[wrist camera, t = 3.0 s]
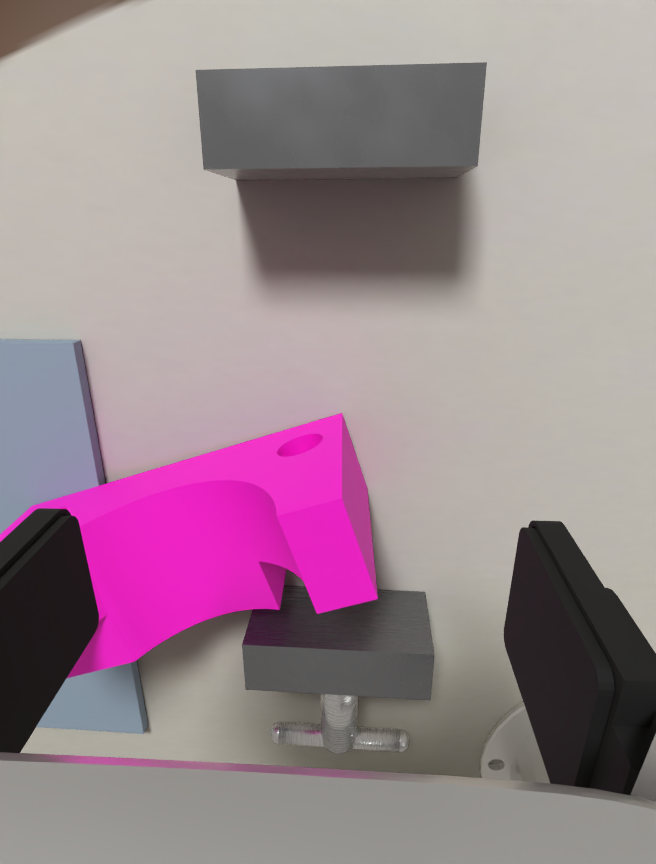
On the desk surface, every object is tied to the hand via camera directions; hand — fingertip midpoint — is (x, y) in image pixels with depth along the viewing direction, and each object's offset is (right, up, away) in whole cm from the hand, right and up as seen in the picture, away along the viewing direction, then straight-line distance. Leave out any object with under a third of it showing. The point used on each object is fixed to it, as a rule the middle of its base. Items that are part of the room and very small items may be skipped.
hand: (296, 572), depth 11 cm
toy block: (-5, -1, +13) cm, 14 cm away
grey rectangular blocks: (+1, +1, +12) cm, 12 cm away
